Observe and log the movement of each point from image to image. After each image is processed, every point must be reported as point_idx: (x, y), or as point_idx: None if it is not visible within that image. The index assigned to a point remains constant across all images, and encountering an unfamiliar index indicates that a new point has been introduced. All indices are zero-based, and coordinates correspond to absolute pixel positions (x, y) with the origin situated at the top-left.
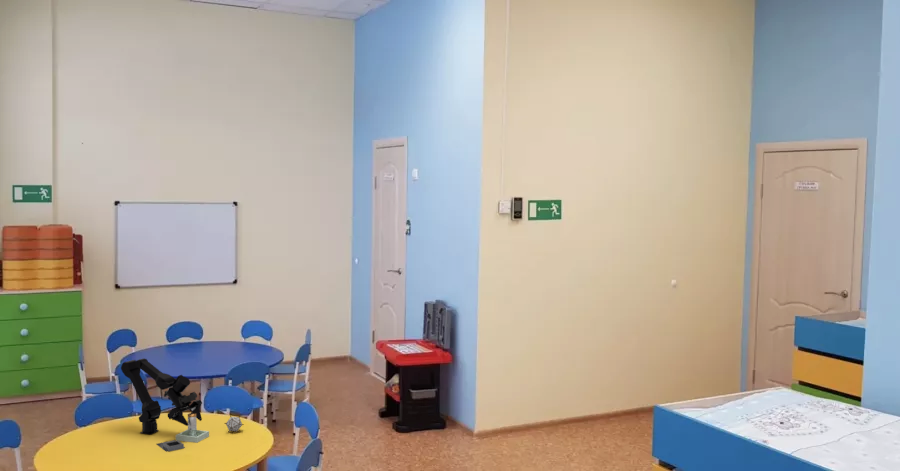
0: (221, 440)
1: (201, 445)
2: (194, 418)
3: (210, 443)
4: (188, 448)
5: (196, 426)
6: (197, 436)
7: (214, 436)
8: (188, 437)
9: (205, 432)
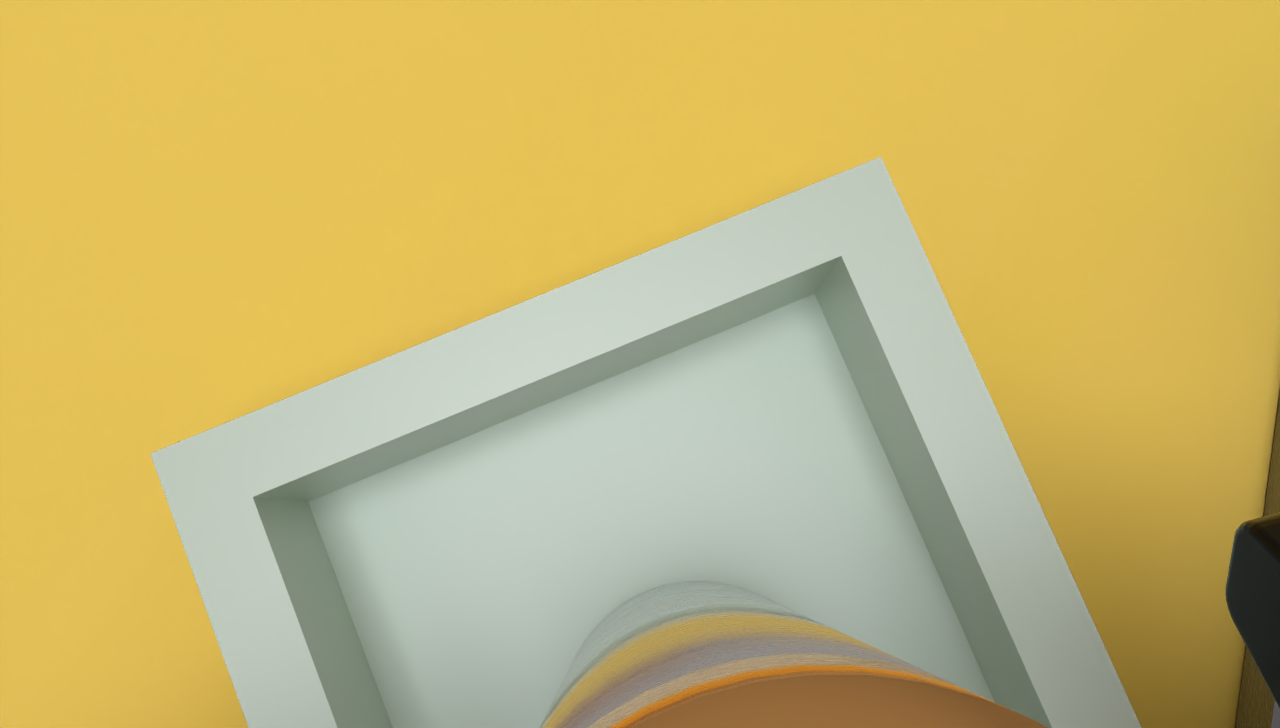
0: (138, 12)
1: (788, 69)
2: (777, 648)
3: (511, 24)
4: (1192, 124)
5: (568, 681)
6: (802, 246)
7: (19, 501)
8: (1026, 500)
9: (325, 434)
